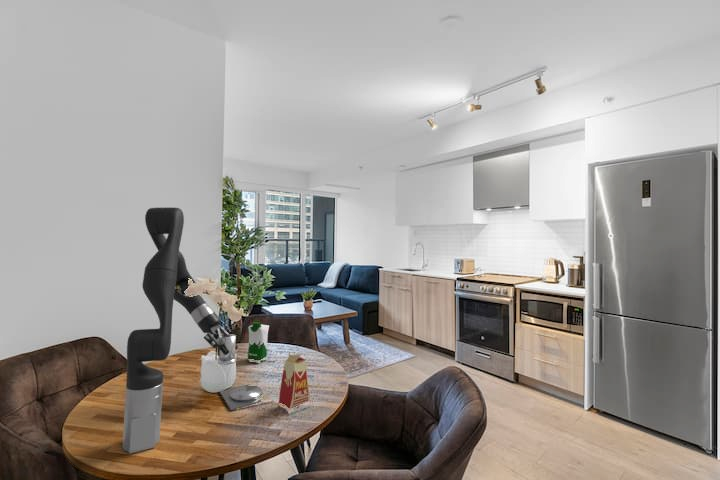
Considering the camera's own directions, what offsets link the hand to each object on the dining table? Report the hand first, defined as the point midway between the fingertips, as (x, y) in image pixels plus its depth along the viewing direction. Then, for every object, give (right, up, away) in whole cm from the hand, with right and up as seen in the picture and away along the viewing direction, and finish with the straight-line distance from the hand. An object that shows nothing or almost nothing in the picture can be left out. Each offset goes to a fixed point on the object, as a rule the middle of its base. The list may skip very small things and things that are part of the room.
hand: (231, 351), depth 131 cm
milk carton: (+25, -19, -5) cm, 32 cm away
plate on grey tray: (+5, -18, +1) cm, 19 cm away
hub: (-2, -4, 0) cm, 5 cm away
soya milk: (-3, -19, +43) cm, 47 cm away
